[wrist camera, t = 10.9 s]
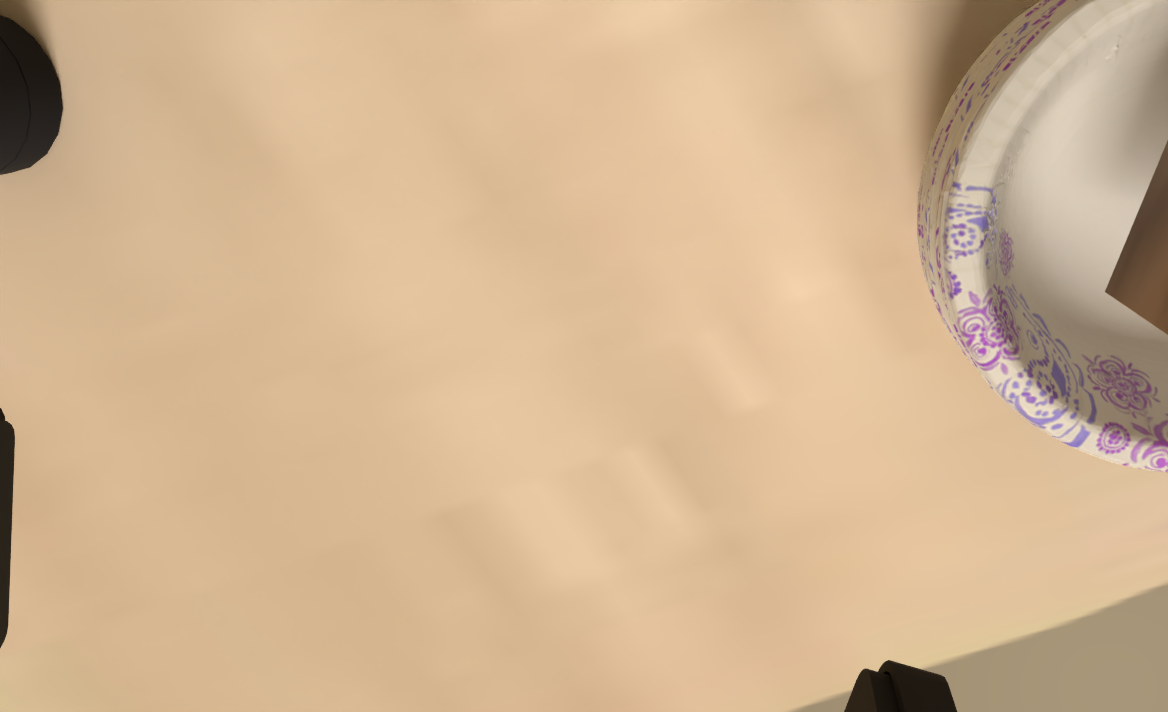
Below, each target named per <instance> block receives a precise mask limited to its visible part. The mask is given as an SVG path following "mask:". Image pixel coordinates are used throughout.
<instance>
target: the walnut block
mask: <svg viewBox="0 0 1168 712" xmlns="http://www.w3.org/2000/svg"><path fill="white" fill-rule="evenodd" d="M1105 292H1106V293H1107V294H1109V295H1110V296H1112V297H1113V298H1114V299H1116V300H1117V301H1119V302H1120V303H1122V304H1123V305H1125V306H1126V307H1128V308H1129V309H1131V310H1132V311H1134V312H1135V313H1136V314H1138V315H1139V316H1141V317H1142V318H1144V319H1145V320H1147V321H1148V322H1150V323H1151V324H1153V325H1154V326H1156V327H1157V328H1158V329H1160V330H1161V331H1163V332H1164V333H1166V334H1167V335H1168V141H1167V143H1166V146H1165V148H1164V150H1163V153H1162V155H1161V158H1160V160H1159V162H1158V165H1157V167H1156V170H1155V172H1154V174H1153V177H1152V179H1151V182H1150V184H1149V187H1148V189H1147V191H1146V194H1145V196H1144V199H1143V201H1142V203H1141V206H1140V208H1139V211H1138V213H1137V215H1136V218H1135V220H1134V223H1133V225H1132V227H1131V230H1130V232H1129V235H1128V237H1127V240H1126V242H1125V244H1124V247H1123V249H1122V252H1121V254H1120V256H1119V259H1118V261H1117V264H1116V266H1115V268H1114V271H1113V273H1112V276H1111V278H1110V280H1109V283H1108V285H1107V288H1106V290H1105Z"/></svg>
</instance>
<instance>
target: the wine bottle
mask: <svg viewBox="0 0 1168 712" xmlns="http://www.w3.org/2000/svg"><path fill="white" fill-rule="evenodd" d="M61 116H62V103H61V94H60V85H59V82H58V80H57V77H56V75H55V72H54V70H53V67H52V64H51V62H50V60H49V58H48V57H47V55H46V54H45V53H44V51H43V50H42V48H41V47H40V46H39V44H38V43H37V41H36V40H35V39H34V37H32V36H31V35H30V34H29V33H27V32H26V31H25V30H24V29H23V28H21V27H20V26H19V25H18V24H17V23H15V22H14V21H13V20H10V19H8V18H6V17H3V16H1V15H0V175H2V174H7V173H12V172H15V171H19V170H22V169H25V168H29V167H31V166H32V165H33V164H35V163H36V162H37V161H38V160H40V159H41V158H42V157H44V156H45V155H46V154H47V153H48V151H49V149H50V147H51V146H52V144H53V142H54V140H55V139H56V137H57V135H58V131H59V126H60V121H61Z"/></svg>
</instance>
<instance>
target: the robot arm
mask: <svg viewBox="0 0 1168 712" xmlns="http://www.w3.org/2000/svg"><path fill="white" fill-rule="evenodd" d="M14 447H15V434H14V429H13V427H12V425H11V424H10V423H9V422H7V421H5V416H4V414H3V412H2V409H1V408H0V648H1V646H2V644H3V642H4V640H5V637H6V634H7V629H8V614H9V586H10V559H11V531H12V503H13V475H14ZM844 712H957V710H956V707H955V704H954V701H953V698H952V695H951V692H950V688H949V685H948V683H947V681H946V679H945V677H943V676H941V675H938V674H935V673H931V672H928V671H925V670H921V669H918V668H914V667H911V666H907V665H904V664H900V663H897V662H893V661H890V660H888V661H886V662H884V663H883V665H882V666H881V667H880V669H879V671H878V672H876V671H873V670H869V669H863V670H862V671H861V673H860V674H859V676H858V678H857V680H856V683H855V685H854V688H853V691H852V693H851V696H850V698H849V701H848V703H847V706H846V709H845V711H844Z"/></svg>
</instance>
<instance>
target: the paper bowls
mask: <svg viewBox="0 0 1168 712" xmlns="http://www.w3.org/2000/svg"><path fill="white" fill-rule="evenodd" d="M1167 141H1168V0H1041V1H1039V2H1038V3H1036V4H1035V5H1033V6H1032V7H1030V8H1029V9H1027V10H1026V11H1024V12H1023V13H1022V14H1020V15H1019V16H1017V17H1016V18H1015V19H1014V20H1013V21H1012V22H1011V23H1010V24H1008V25H1007V26H1006V27H1005V28H1004V29H1003V30H1002V31H1001V32H1000V33H999V34H998V35H997V36H996V37H995V38H994V39H993V41H992V42H991V43H990V44H989V45H988V47H987V48H986V49H985V50H984V51H983V53H982V54H981V55H980V56H979V57H978V58H977V60H976V61H975V62H974V63H973V65H972V66H971V67H970V69H969V70H968V71H967V73H966V74H965V76H964V77H963V79H962V80H961V82H960V84H959V85H958V87H957V88H956V90H955V92H954V93H953V95H952V97H951V98H950V100H949V102H948V105H947V107H946V109H945V111H944V114H943V116H942V118H941V120H940V122H939V124H938V126H937V128H936V131H935V133H934V135H933V138H932V141H931V144H930V147H929V150H928V153H927V156H926V160H925V163H924V167H923V170H922V176H921V183H920V188H919V192H918V208H917V236H918V244H919V251H920V257H921V262H922V268H923V271H924V275H925V279H926V282H927V285H928V288H929V291H930V293H931V295H932V298H933V300H934V302H935V305H936V307H937V310H938V312H939V314H940V316H941V318H942V321H943V322H944V324H945V326H946V328H947V330H948V331H949V333H950V334H951V336H952V338H953V339H954V340H955V341H956V343H957V344H958V346H959V347H960V348H961V349H962V351H963V353H964V354H965V356H966V357H967V359H968V360H969V361H970V362H971V363H972V364H973V365H974V367H975V368H976V369H977V370H978V371H979V373H980V374H981V376H982V377H983V379H984V380H985V381H986V382H987V384H988V385H989V386H990V387H991V388H992V389H993V390H994V391H995V393H996V394H997V395H998V396H999V397H1000V398H1001V399H1002V400H1003V401H1005V402H1006V403H1007V404H1008V405H1009V406H1010V407H1011V408H1013V409H1014V410H1015V411H1016V412H1018V413H1019V414H1020V415H1021V416H1022V417H1023V418H1025V419H1026V420H1027V421H1029V422H1030V423H1032V424H1033V425H1034V426H1036V427H1037V428H1039V429H1040V430H1042V431H1043V432H1045V433H1046V434H1048V435H1050V436H1052V437H1053V438H1055V439H1057V440H1059V441H1061V442H1063V443H1065V444H1067V445H1069V446H1071V447H1073V448H1076V449H1077V450H1079V451H1082V452H1084V453H1087V454H1090V455H1092V456H1095V457H1097V458H1100V459H1103V460H1106V461H1110V462H1113V463H1116V464H1119V465H1125V466H1129V467H1134V468H1138V469H1146V470H1150V471H1161V472H1168V335H1167V334H1166V333H1164V332H1163V331H1161V330H1160V329H1158V328H1157V327H1156V326H1154V325H1153V324H1151V323H1150V322H1148V321H1147V320H1145V319H1144V318H1142V317H1141V316H1139V315H1138V314H1136V313H1135V312H1134V311H1132V310H1131V309H1129V308H1128V307H1126V306H1125V305H1123V304H1122V303H1120V302H1119V301H1117V300H1116V299H1114V298H1113V297H1112V296H1110V295H1109V294H1107V293H1106V292H1105V290H1106V288H1107V285H1108V283H1109V280H1110V278H1111V276H1112V273H1113V271H1114V268H1115V266H1116V264H1117V261H1118V259H1119V256H1120V254H1121V252H1122V249H1123V247H1124V244H1125V242H1126V240H1127V237H1128V235H1129V232H1130V230H1131V227H1132V225H1133V223H1134V220H1135V218H1136V215H1137V213H1138V211H1139V208H1140V206H1141V203H1142V201H1143V199H1144V196H1145V194H1146V191H1147V189H1148V187H1149V184H1150V182H1151V179H1152V177H1153V174H1154V172H1155V170H1156V167H1157V165H1158V162H1159V160H1160V158H1161V155H1162V153H1163V150H1164V148H1165V146H1166V143H1167Z"/></svg>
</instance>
